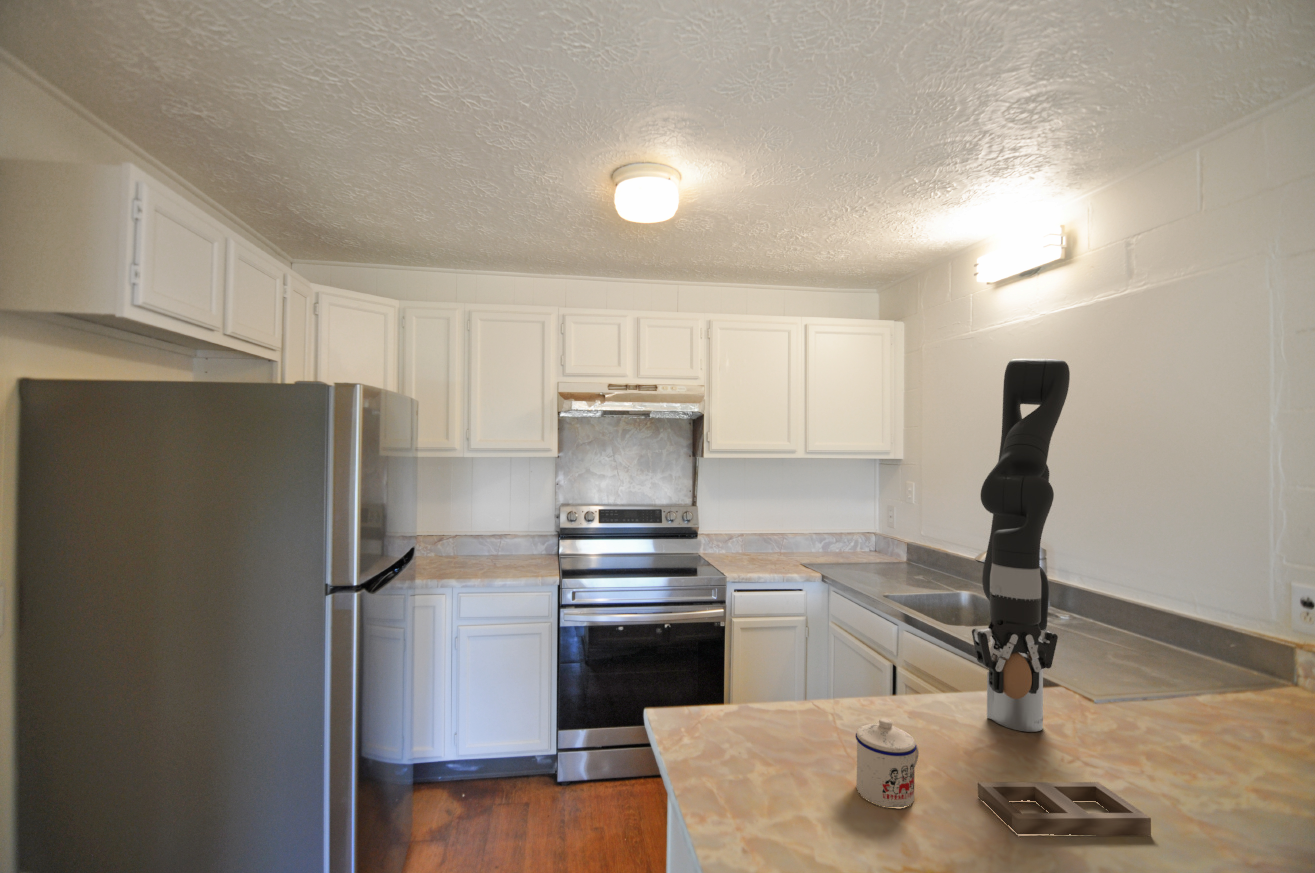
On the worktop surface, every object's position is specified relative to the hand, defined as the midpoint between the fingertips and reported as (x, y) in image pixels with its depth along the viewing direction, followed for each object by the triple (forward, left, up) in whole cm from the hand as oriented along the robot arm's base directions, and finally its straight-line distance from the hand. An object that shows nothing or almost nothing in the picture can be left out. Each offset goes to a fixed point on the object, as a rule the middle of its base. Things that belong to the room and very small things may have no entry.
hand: (1013, 691), depth 100 cm
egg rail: (+9, -6, -15) cm, 18 cm away
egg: (0, 0, -1) cm, 1 cm away
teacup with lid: (-10, -21, -15) cm, 28 cm away
